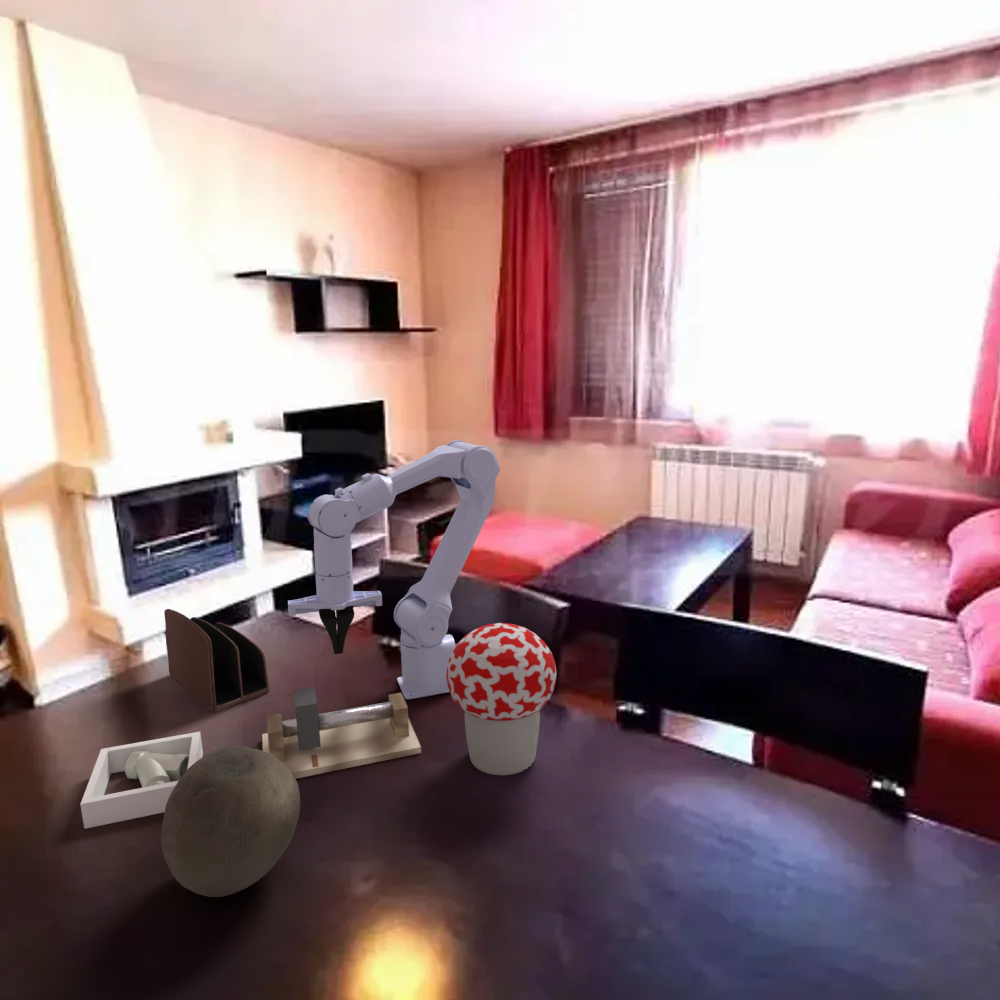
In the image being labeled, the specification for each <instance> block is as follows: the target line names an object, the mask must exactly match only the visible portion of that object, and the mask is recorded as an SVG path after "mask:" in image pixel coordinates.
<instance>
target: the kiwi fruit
mask: <svg viewBox="0 0 1000 1000" xmlns="http://www.w3.org/2000/svg"><path fill="white" fill-rule="evenodd" d="M300 810H301V795H300V789H299V784H298V781H297V780H296V779H295V778H294V776H293V775H292V773H291V772H290V770H289V769H288V767H287V766H286V765H285V764H284V763H283V762H281V761H280V760H279V759H277V758H276V757H274V756H272V755H271V754H269V753H267V752H264V751H263V750H261V749H259V748H258V749H257V748H252V747H248V746H244V745H233V746H225V747H222V748H219V749H215V750H214V751H211V752H209V753H207V754H205V755H204V756H202V758H201V759H199V760H198V761H196V762H195V763H194V764H193V765H192V766H190V767H189V768H188V769H187V770H186V772H185V773H184V774H183V775H182V777H181V778H180V779H179V781H178V783H177V784H176V786H175V787H174V789H173V791H172V792H171V795H170V797H169V799H168V801H167V804H166V807H165V812H163V820H162V824H161V825H162V826H161V833H160V834H161V835H160V845H161V851H162V855H163V857H164V860H165V862H166V864H167V866H168V868H169V871H170V873H171V874H172V877H174V879H175V880H176V881H177V882H178V883H179V884H180V885H181V886H182V887H184V888H185V889H187V890H189V891H191V892H192V893H194V894H197V895H199V896H200V895H201V896H205V897H208V898H209V897H210V898H221V897H228V896H231V895H233V894H236V893H239V892H241V891H243V890H246V889H247V888H249V887H251V886H253V885H254V884H255V883H257V882H259V880H261V879H262V878H264V876H266V875H267V874H268V873H269V872H270V871H271V870H272V868H274V866H275V865H277V862H278V861H279V860H280V859H281V857H283V855H284V853H285V852H286V850H287V849H288V847H289V845H290V843H291V842H292V839H293V838H294V835H295V832H296V828H297V824H298V821H299V817H300Z"/></svg>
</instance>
